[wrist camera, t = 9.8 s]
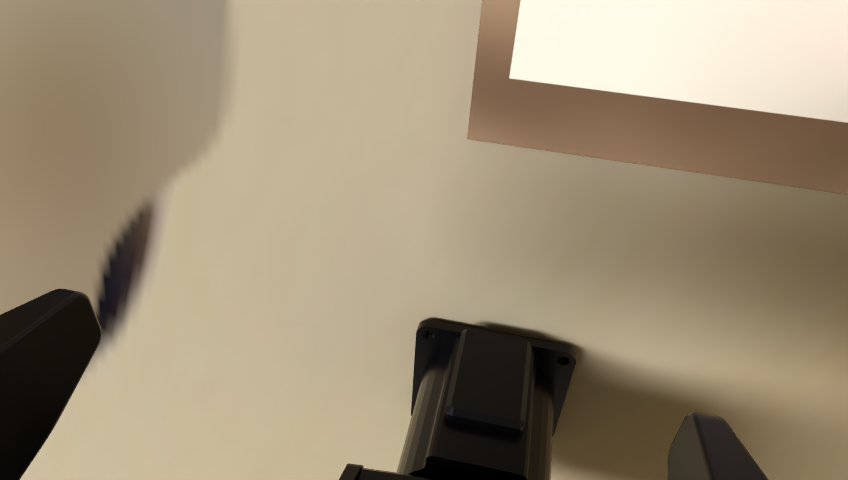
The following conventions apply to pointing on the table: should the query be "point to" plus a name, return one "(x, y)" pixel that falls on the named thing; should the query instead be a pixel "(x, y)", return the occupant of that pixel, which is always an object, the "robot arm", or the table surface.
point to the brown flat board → (645, 123)
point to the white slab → (693, 51)
